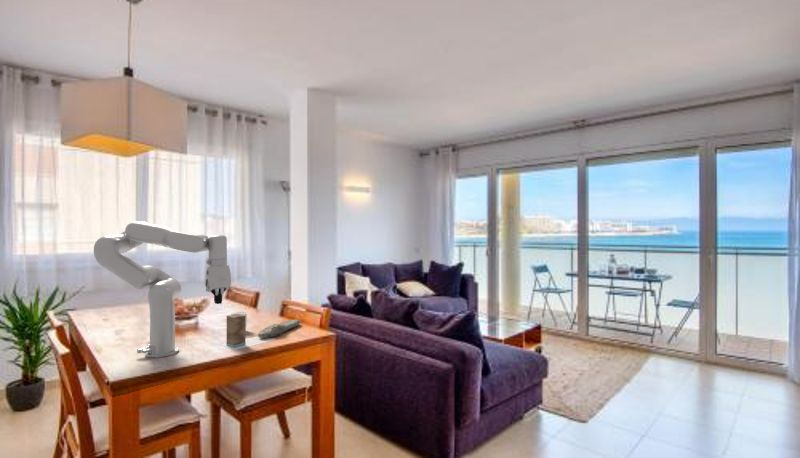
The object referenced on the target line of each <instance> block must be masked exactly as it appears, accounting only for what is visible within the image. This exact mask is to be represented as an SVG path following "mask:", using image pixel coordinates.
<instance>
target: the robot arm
mask: <svg viewBox="0 0 800 458" xmlns="http://www.w3.org/2000/svg"><path fill="white" fill-rule="evenodd" d="M142 244H150V245H155V246H159V247H165V248H167V249H168V248H169V249H173V250H177V251H180V252H181V251H182V252H187V253H193V254H195V253H196V254H197V253H201V252H207V251H208V259H207V260H206V261H205V265H208V266H206V271H205V277H204V278H205V279H204V280H205V281H204V282H205V283H204V285H205V292H207V293H209V292H210V293H211V294H212V295H213V301H214V304H216V305H221V304H222V303H223V295H224V293H225V292H226V291H227V290H229V289H231V286H232V274H231V268H230V265H229V264H228V238H227V237H226V235H223V234H220V235H219V234H214V235H209V234H208V235H207V234H190V233H184V232H180V231H176V230H173V229H172V228H171V227H168V226H162V225H158V224H153V223H150V222H148V221H141V220H140V221H139V220H138V221H132V222H130V223H129V224H127V225H126V226H125V229H124V231H123V232H121V233H118V234H109V235H108V234H107V235H104V236H101V237H99V238H98V239H97V240H96V241H95V243H94V244H93V245H94V246H93V256H94V259H95V260H96V261H97V263H98V264H99V265H100V266H101V267H102V268H104V269H105V270H107V272H108V271H109V272H110V273H111V274H113V275H114V276H116V277H118V278H119V279H120V280H122V281H123V282H125V283H127V284H128V285H130V286H131V287H133V288H135V289H137V290H143V289H147V288H148V289H149V290H148V293H147V300H148V305H149V306H148V308H149V343H147V346H145V347H141V348H137V349H136V353H137V354H145V356H146V357H147V358H153V357H156V358H163V357H164V356H165V357H169V356H173V355H176V354H178V353H179V350H180V348H179V347H178V346H176V345H175V344H176V343H175V342H176V311H175V303H174V300H175V299H177V297H179V296H180V295H181V292H182V285H181V283H180V281H178V280H177V279H176V278H174V277H172V276H171V275H170V274H168V273H166V271H163V270H162V269H160V268H158V267H156V266H153V265H140V264H139V263H137V262H135V261H134V260H132V259H131V258H129V257H127V256H125V255H123V254H124V253H127V252H129V251H132V250H133V249H134V248H137V247H139V246H140V245H142Z"/></svg>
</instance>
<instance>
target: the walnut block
mask: <svg viewBox="0 0 800 458" xmlns="http://www.w3.org/2000/svg"><path fill="white" fill-rule="evenodd" d="M246 332H247V325H246V315H242V314H233V315H231V314H228V315H226V342H225V344H226V346H229V347H232V348H236V347H240V346H244V345H246V343H245V339H246Z"/></svg>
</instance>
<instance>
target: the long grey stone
mask: <svg viewBox="0 0 800 458" xmlns="http://www.w3.org/2000/svg"><path fill="white" fill-rule="evenodd" d="M300 324H301V320H300V319H290V320H289V319H287V320H286V321H283V322H280V323H274V324H272V325H268V326H267V327H264V328H263V329H261V330H260V331H259V332H257V336H258V337H259V338H268V337H271V338H274V337H276V336H280V335H282V334H283V333H285V332H287V331H288V330H291V329H293V328H296V327H298V326H299V325H300Z"/></svg>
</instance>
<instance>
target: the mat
mask: <svg viewBox="0 0 800 458" xmlns="http://www.w3.org/2000/svg"><path fill="white" fill-rule="evenodd" d="M276 340H277V338H274V337H268V338H259V337H258V335H257V336H253V337H249V338H245V343H246V345H244V346H240V347H236V348H232V347H229V346H226V343H223V344H221V346H223V347H226V348H228V349H231V350H234V351H236V350H240V349H245V348H249V347H252V346H256V345H259V344H264V343H267V342H271V341H272V342H273V341H276Z"/></svg>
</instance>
